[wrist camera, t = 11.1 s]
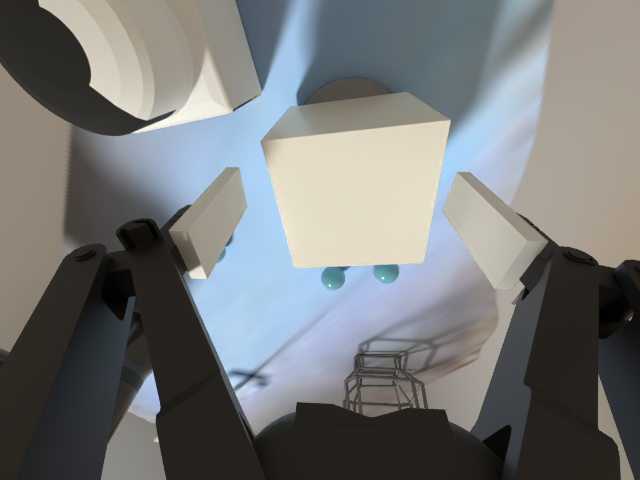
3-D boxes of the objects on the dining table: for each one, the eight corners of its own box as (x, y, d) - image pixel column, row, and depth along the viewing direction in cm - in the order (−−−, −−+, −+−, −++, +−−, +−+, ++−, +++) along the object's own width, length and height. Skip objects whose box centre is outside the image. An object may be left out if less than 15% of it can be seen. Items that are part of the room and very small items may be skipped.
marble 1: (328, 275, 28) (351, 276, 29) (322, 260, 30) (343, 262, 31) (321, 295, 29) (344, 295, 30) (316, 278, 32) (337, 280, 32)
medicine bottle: (185, 111, 21) (56, 165, 11) (130, -4, 16) (-155, -74, 7) (264, 94, 19) (193, 138, 10) (226, -36, 15) (40, -172, 6)
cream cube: (307, 205, 25) (294, 268, 18) (289, 106, 19) (260, 141, 12) (398, 198, 23) (423, 263, 16) (407, 91, 18) (450, 119, 11)
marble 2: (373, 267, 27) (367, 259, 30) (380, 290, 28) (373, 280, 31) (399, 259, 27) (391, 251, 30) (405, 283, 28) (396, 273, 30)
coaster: (296, 193, 25) (295, 197, 24) (288, 76, 18) (287, 78, 18) (394, 197, 24) (396, 201, 24) (421, 78, 18) (424, 79, 17)
